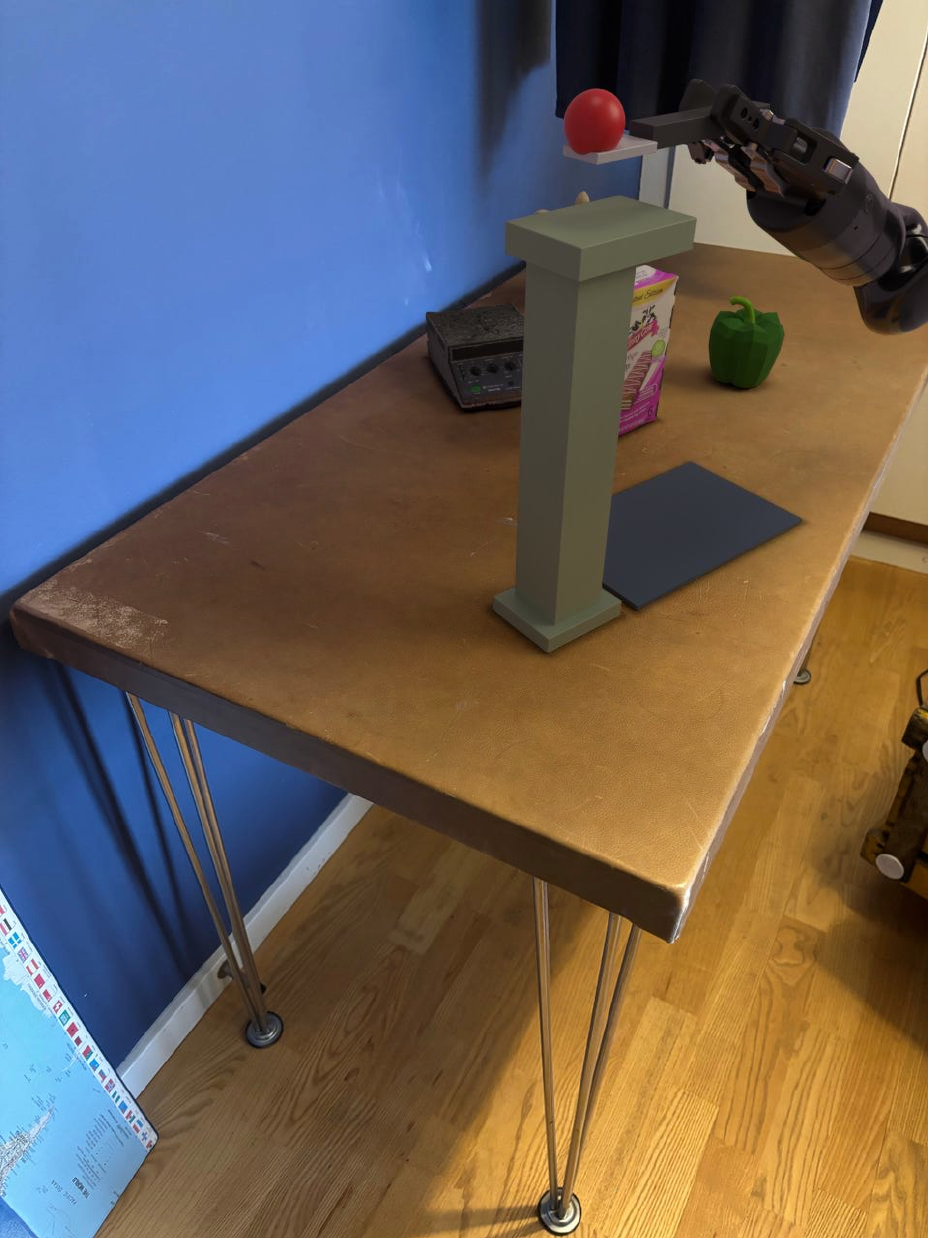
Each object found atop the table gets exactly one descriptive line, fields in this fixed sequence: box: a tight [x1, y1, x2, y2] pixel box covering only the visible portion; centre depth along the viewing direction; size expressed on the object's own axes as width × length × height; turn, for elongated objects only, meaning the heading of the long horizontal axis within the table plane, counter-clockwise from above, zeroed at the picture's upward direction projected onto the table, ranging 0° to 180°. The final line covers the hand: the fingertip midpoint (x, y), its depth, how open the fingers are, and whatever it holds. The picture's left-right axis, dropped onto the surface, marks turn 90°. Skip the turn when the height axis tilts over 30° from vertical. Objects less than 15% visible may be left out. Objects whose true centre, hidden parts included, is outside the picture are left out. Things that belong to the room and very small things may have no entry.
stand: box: [492, 194, 698, 654], centre depth 67 cm, size 10×7×31 cm, turn 127°
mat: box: [602, 460, 803, 611], centre depth 86 cm, size 22×14×1 cm, turn 127°
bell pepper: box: [708, 295, 786, 389], centre depth 108 cm, size 8×8×10 cm
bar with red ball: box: [562, 88, 771, 165], centre depth 56 cm, size 17×4×4 cm, turn 127°
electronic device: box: [425, 301, 525, 411], centre depth 110 cm, size 12×17×6 cm
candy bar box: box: [618, 264, 680, 437], centre depth 97 cm, size 11×5×16 cm, turn 130°
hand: (704, 97), depth 57 cm, fingers closed on bar with red ball, 2 cm apart
